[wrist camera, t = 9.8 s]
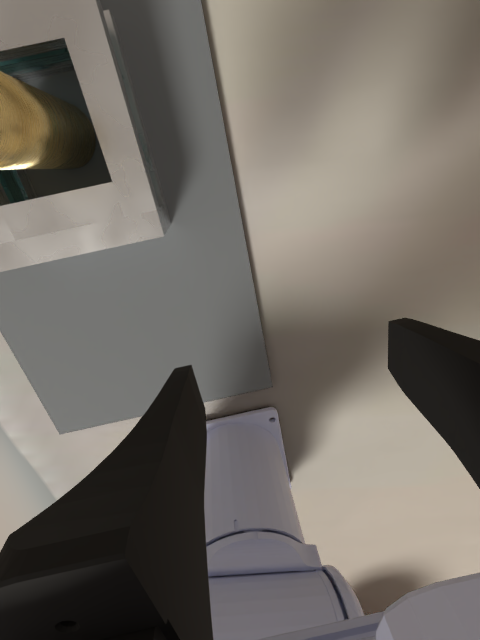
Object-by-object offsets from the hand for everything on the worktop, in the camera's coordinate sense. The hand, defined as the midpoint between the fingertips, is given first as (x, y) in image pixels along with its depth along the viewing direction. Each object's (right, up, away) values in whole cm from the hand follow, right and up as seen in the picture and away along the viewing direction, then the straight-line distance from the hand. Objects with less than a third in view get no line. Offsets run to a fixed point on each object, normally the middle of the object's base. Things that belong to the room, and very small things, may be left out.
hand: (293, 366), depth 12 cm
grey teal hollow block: (-11, +12, +4) cm, 17 cm away
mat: (-10, +7, +7) cm, 14 cm away
